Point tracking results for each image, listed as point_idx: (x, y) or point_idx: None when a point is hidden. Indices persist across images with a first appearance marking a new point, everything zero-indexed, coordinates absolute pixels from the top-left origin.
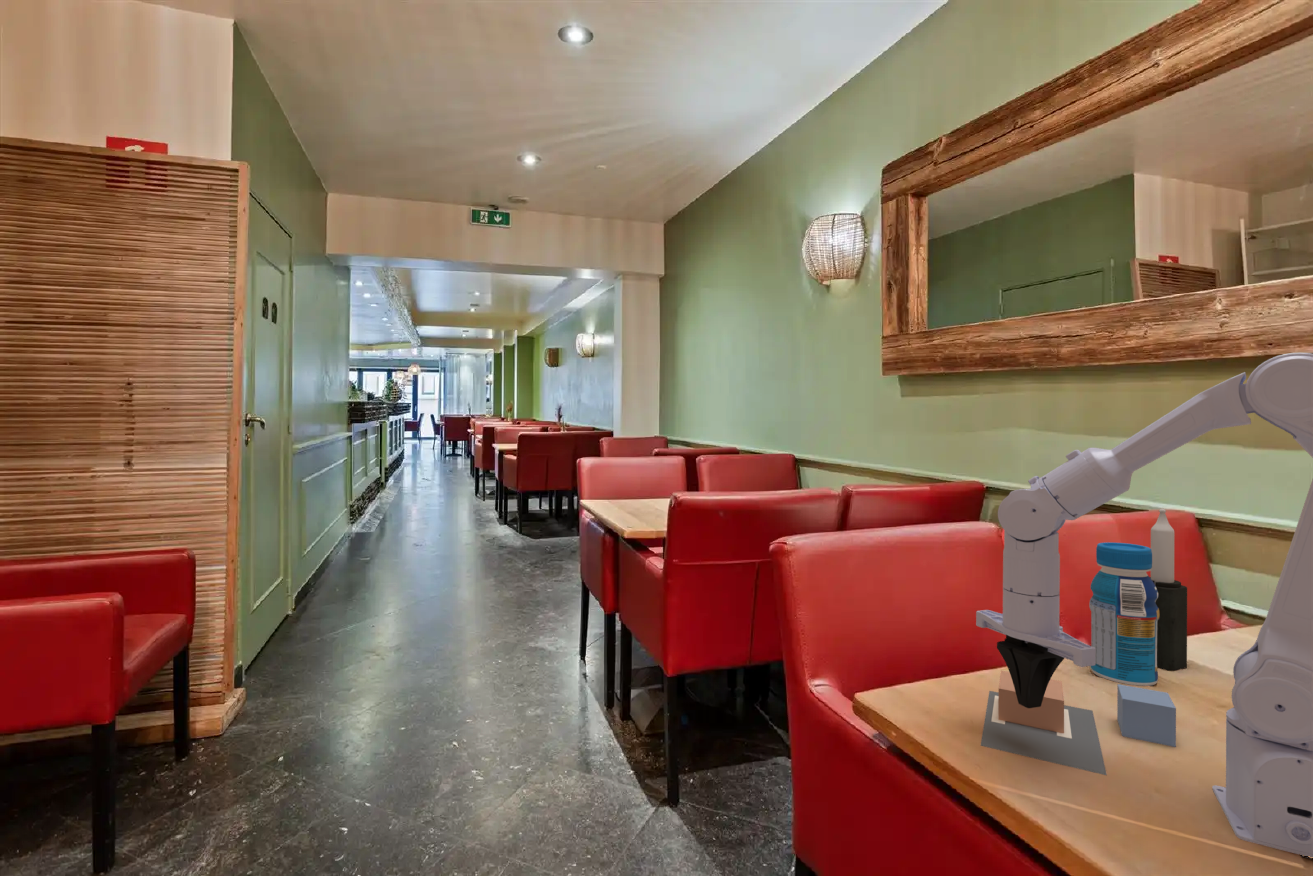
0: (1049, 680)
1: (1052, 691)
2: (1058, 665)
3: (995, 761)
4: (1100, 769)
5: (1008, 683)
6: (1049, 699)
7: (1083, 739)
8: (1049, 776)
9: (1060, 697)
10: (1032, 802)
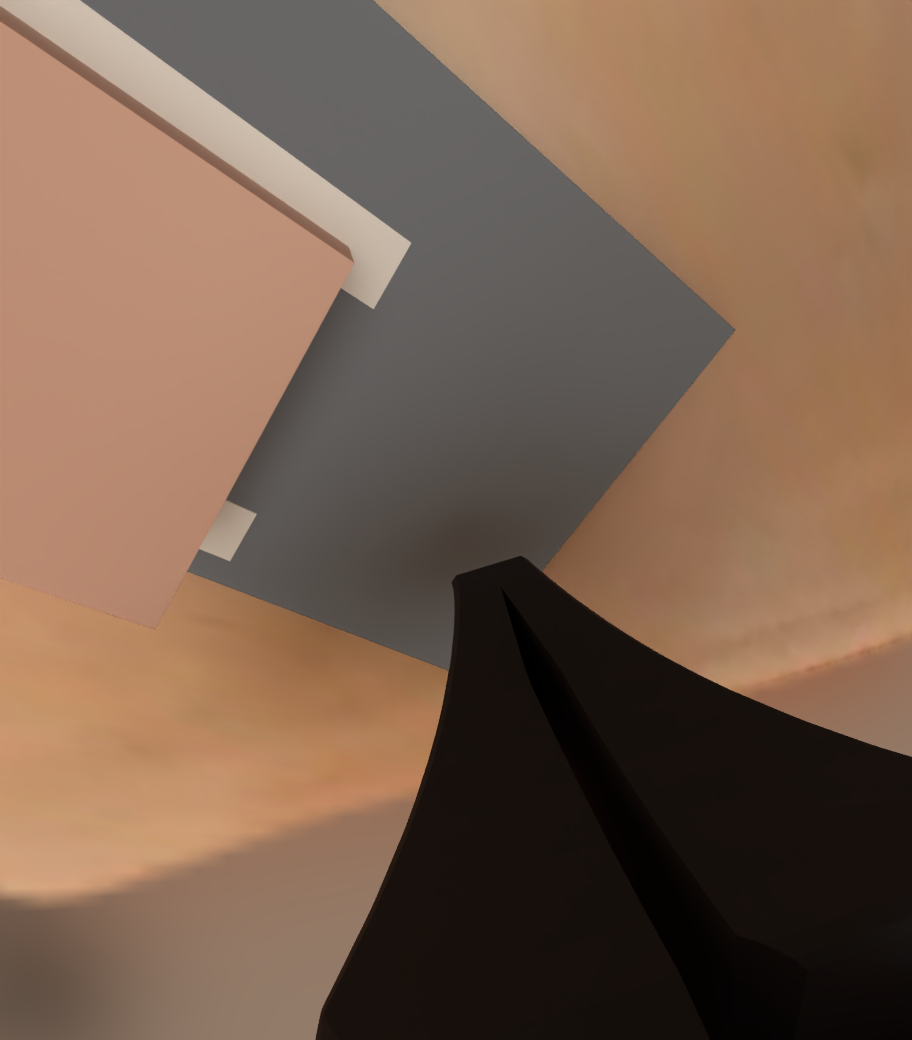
0: (644, 646)
1: (134, 226)
2: (829, 734)
3: None
4: (694, 322)
5: (16, 526)
6: (303, 355)
7: (422, 169)
8: (658, 535)
9: (277, 242)
10: (751, 645)
